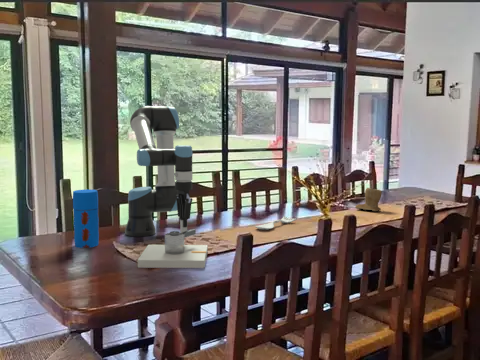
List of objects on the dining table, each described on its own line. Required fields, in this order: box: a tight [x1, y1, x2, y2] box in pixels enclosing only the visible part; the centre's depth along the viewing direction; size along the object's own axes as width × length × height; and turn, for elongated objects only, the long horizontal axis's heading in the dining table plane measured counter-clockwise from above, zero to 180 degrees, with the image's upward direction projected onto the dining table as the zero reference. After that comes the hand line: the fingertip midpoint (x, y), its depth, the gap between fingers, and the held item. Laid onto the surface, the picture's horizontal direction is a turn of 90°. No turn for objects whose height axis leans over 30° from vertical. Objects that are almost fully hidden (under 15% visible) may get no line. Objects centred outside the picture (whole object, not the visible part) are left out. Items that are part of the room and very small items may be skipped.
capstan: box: [164, 228, 196, 254], centre depth 207 cm, size 18×8×8 cm, turn 151°
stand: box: [137, 244, 209, 269], centre depth 204 cm, size 26×24×3 cm
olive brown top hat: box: [354, 187, 383, 212], centre depth 320 cm, size 15×12×15 cm
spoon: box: [255, 215, 298, 231], centre depth 270 cm, size 9×32×4 cm, turn 142°
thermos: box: [72, 189, 100, 249], centre depth 224 cm, size 11×11×25 cm
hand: (183, 233), depth 217 cm, fingers closed
